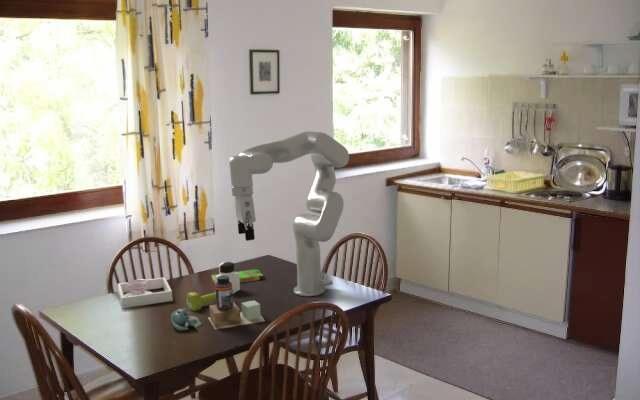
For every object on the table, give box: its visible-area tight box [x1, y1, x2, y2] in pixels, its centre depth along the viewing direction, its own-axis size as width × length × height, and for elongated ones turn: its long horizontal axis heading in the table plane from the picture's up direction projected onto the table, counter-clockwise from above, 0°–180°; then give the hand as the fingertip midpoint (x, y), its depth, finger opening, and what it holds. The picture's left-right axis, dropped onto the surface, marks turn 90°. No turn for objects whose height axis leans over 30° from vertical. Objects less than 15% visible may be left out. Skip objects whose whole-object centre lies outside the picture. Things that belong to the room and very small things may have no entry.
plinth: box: [207, 301, 266, 330], centre depth 239 cm, size 18×12×6 cm, turn 111°
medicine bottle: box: [215, 261, 241, 295], centre depth 272 cm, size 7×7×12 cm
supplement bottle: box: [214, 275, 234, 310], centre depth 236 cm, size 6×6×11 cm
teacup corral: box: [117, 277, 174, 309], centre depth 269 cm, size 19×19×4 cm
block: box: [240, 299, 262, 320], centre depth 241 cm, size 5×5×5 cm
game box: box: [211, 268, 264, 285], centre depth 288 cm, size 3×10×20 cm
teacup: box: [123, 278, 153, 297], centre depth 269 cm, size 12×12×6 cm
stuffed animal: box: [170, 307, 202, 332], centre depth 237 cm, size 11×7×12 cm
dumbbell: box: [185, 291, 216, 312], centre depth 255 cm, size 16×8×7 cm, turn 129°
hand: (246, 236), depth 243 cm, fingers open, 9 cm apart
